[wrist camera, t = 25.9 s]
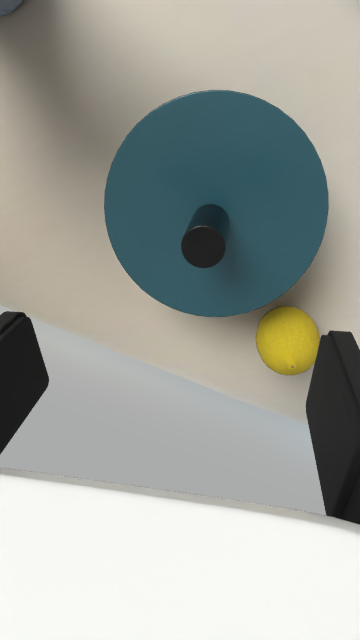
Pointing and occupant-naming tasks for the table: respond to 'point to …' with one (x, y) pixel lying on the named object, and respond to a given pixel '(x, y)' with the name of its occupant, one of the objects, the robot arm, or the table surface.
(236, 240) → the lid
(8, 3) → the moka pot
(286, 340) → the lemon
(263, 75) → the table surface
